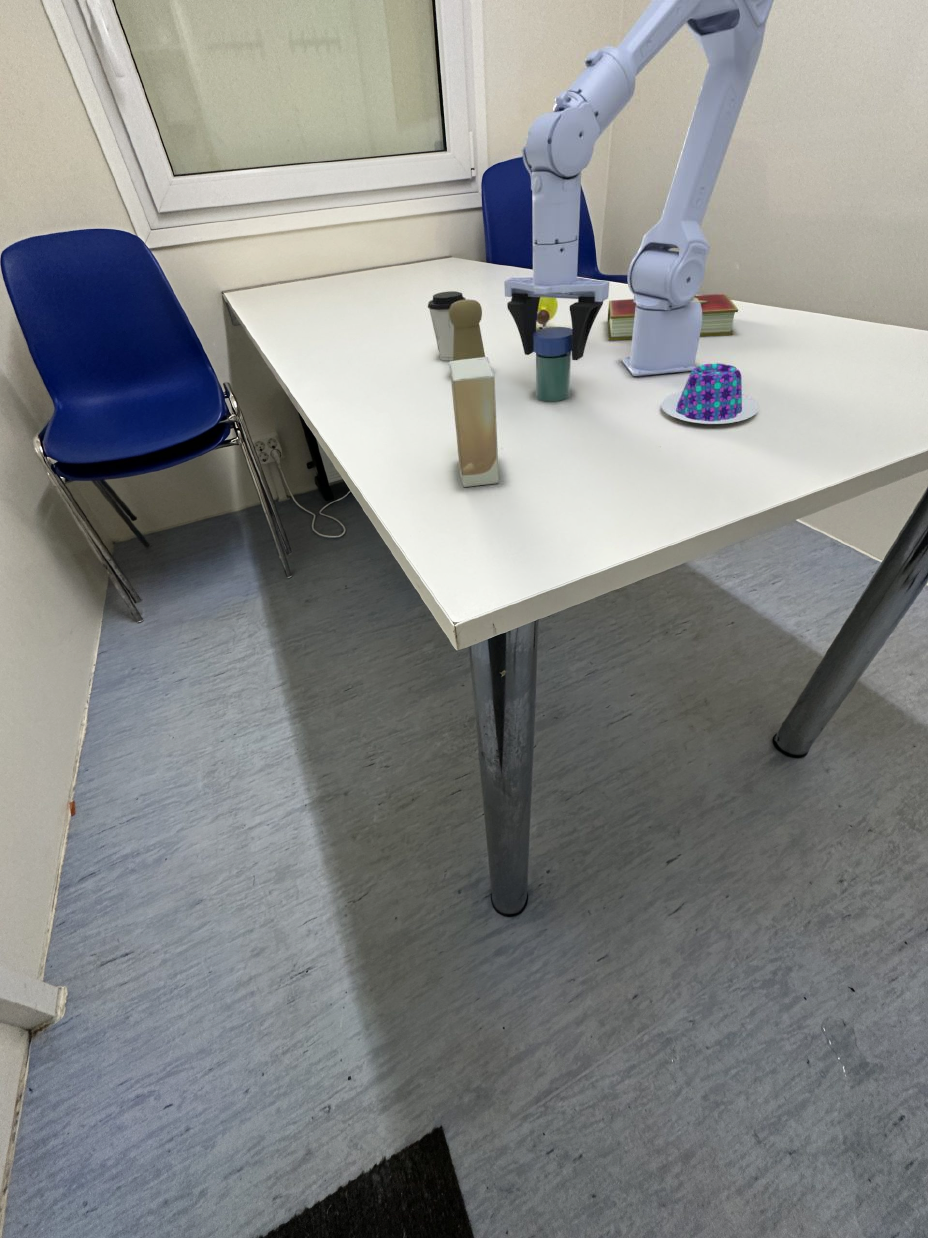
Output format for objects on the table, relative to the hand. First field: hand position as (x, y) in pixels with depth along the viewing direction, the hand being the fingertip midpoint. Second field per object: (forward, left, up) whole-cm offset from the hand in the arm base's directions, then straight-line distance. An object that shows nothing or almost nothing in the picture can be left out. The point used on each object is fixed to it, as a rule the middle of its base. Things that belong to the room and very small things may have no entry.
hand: (553, 355), depth 77 cm
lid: (0, 0, +3) cm, 3 cm away
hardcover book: (-25, -28, -6) cm, 38 cm away
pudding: (-19, +11, -6) cm, 23 cm away
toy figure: (-3, -35, -6) cm, 36 cm away
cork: (+12, -13, -6) cm, 19 cm away
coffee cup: (+15, -24, -6) cm, 29 cm away
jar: (0, 0, -6) cm, 6 cm away
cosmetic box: (+12, +23, -6) cm, 27 cm away
